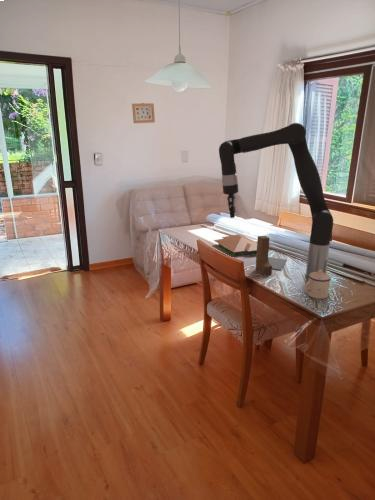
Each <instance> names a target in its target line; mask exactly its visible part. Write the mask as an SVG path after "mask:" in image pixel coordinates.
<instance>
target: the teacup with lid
mask: <svg viewBox="0 0 375 500" xmlns="http://www.w3.org/2000/svg"><path fill="white" fill-rule="evenodd" d="M331 280H332V277H331V276H330V275H329V274H328V273H327V272H326V273H324V272H323V270H318V271H317V272H312V273H310V274H309V277H308V281H307V282H305V284H304V290H305V292H306V293H307V295H308V296H309V297H311V298H312V299H313V298H314V299H320V300H323V299H327V298H328V296H329V291H330V283H331Z"/></svg>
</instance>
